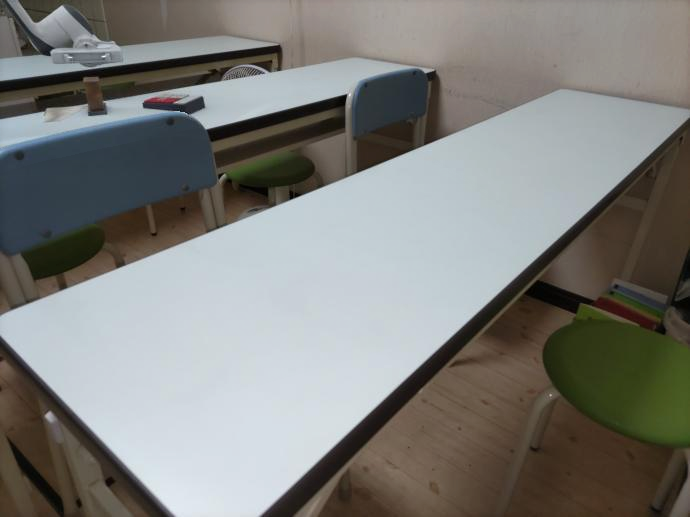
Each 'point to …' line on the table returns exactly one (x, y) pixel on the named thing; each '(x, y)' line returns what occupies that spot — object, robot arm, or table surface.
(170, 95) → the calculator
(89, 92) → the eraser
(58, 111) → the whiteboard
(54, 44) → the robot arm
